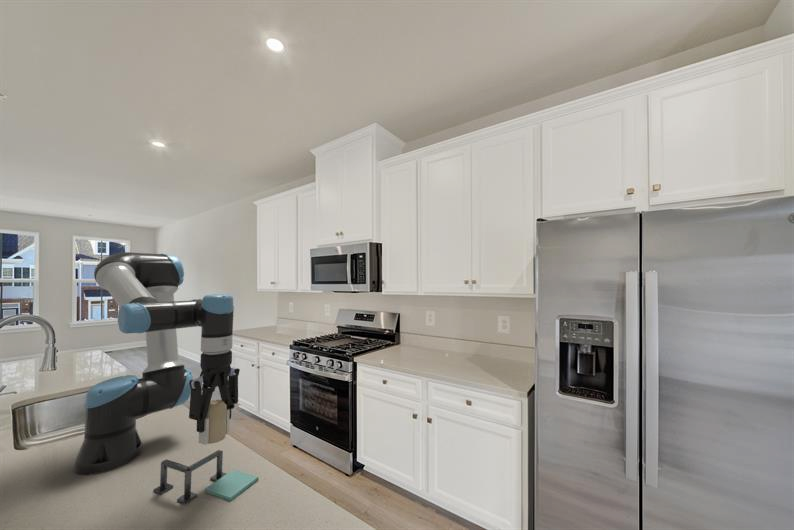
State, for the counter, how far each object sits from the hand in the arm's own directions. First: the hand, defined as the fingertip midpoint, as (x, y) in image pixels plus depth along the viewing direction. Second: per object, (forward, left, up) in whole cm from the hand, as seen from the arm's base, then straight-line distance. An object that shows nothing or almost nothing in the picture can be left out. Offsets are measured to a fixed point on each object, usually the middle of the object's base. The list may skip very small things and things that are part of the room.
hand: (214, 437), depth 87 cm
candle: (0, 0, -1) cm, 1 cm away
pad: (+6, +1, -12) cm, 13 cm away
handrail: (-5, -3, -12) cm, 13 cm away
